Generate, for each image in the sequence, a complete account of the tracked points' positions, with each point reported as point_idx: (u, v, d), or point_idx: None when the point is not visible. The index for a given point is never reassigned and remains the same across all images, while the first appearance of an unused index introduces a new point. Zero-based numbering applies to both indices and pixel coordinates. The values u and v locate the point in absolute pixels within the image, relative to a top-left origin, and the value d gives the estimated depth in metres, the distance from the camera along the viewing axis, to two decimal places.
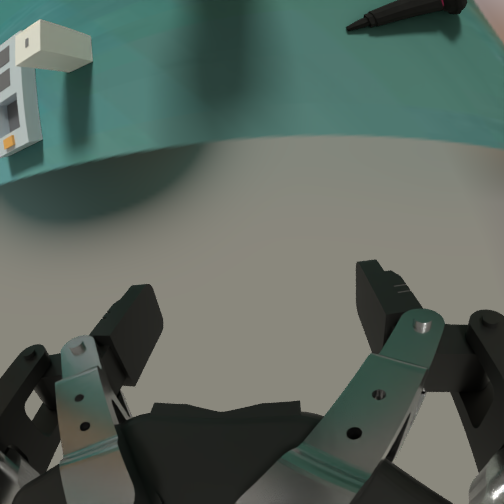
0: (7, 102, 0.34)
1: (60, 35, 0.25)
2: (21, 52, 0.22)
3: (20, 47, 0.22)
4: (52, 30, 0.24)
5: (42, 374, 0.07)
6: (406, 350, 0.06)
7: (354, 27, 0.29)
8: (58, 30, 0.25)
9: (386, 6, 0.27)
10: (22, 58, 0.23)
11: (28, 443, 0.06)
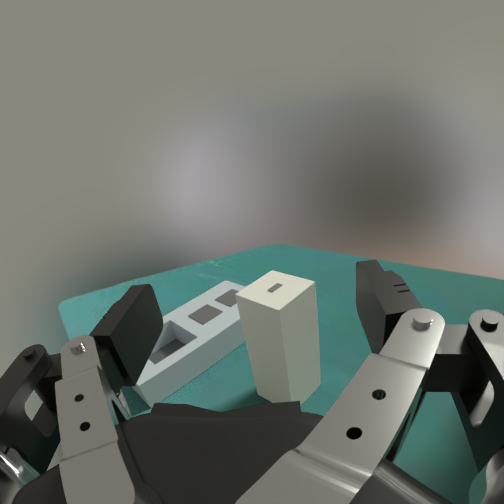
0: (180, 335, 0.38)
1: (306, 335, 0.25)
2: (257, 289, 0.25)
3: (262, 284, 0.25)
4: (308, 315, 0.24)
5: (42, 374, 0.07)
6: (406, 350, 0.06)
7: None
8: (311, 326, 0.25)
9: None
10: (250, 296, 0.24)
11: (28, 443, 0.06)
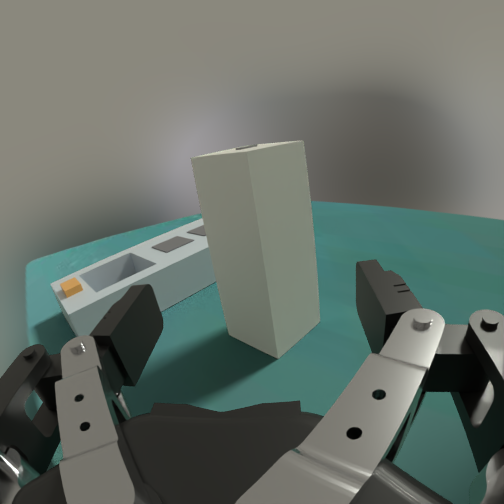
0: None
1: (295, 221, 0.17)
2: (222, 151, 0.17)
3: (231, 149, 0.18)
4: (296, 188, 0.17)
5: (42, 374, 0.07)
6: (406, 350, 0.06)
7: None
8: (302, 209, 0.17)
9: None
10: (210, 154, 0.16)
11: (28, 443, 0.06)
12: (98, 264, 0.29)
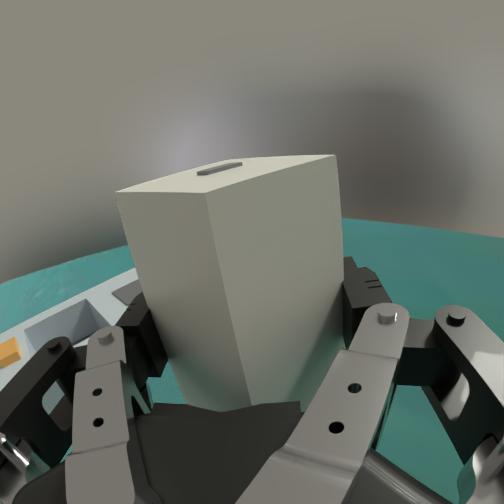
0: (99, 324, 0.21)
1: (315, 318, 0.09)
2: (173, 178, 0.08)
3: (192, 171, 0.09)
4: (321, 254, 0.08)
5: (67, 366, 0.08)
6: (366, 341, 0.07)
7: None
8: (328, 291, 0.09)
9: None
10: (144, 188, 0.08)
11: (42, 436, 0.06)
12: (47, 313, 0.20)
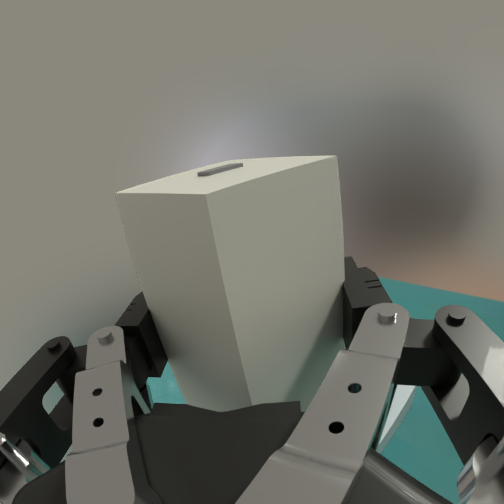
0: None
1: (316, 319, 0.09)
2: (173, 179, 0.08)
3: (193, 172, 0.09)
4: (322, 255, 0.08)
5: (67, 366, 0.08)
6: (366, 341, 0.07)
7: None
8: (329, 292, 0.09)
9: None
10: (144, 189, 0.08)
11: (42, 436, 0.06)
12: None
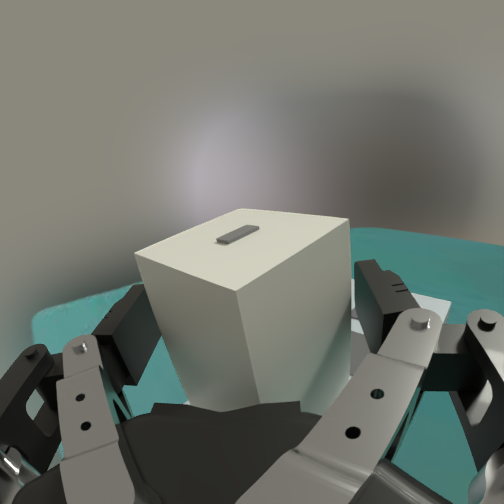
0: None
1: (325, 366, 0.09)
2: (192, 241, 0.09)
3: (209, 230, 0.10)
4: (332, 313, 0.09)
5: (44, 373, 0.07)
6: (403, 349, 0.06)
7: None
8: (337, 342, 0.09)
9: None
10: (166, 256, 0.08)
11: (29, 442, 0.06)
12: None
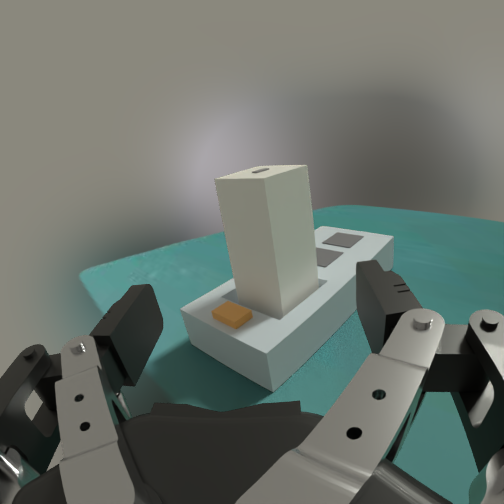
0: None
1: (300, 231, 0.21)
2: (240, 174, 0.21)
3: (247, 171, 0.22)
4: (301, 204, 0.21)
5: (42, 374, 0.07)
6: (406, 350, 0.06)
7: None
8: (305, 221, 0.21)
9: None
10: (231, 177, 0.20)
11: (28, 443, 0.06)
12: None
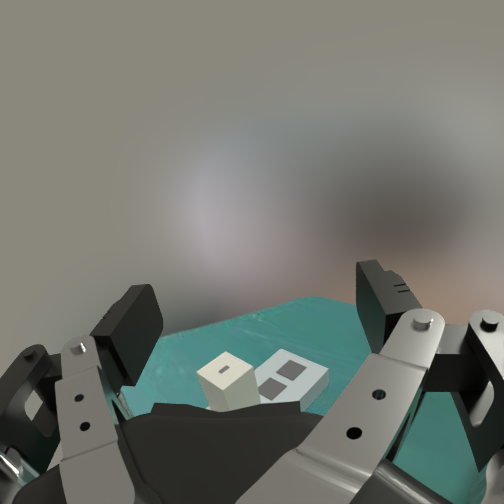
0: None
1: (248, 400, 0.33)
2: (212, 370, 0.33)
3: (216, 364, 0.33)
4: (249, 387, 0.32)
5: (42, 374, 0.07)
6: (406, 350, 0.06)
7: None
8: (252, 393, 0.33)
9: None
10: (206, 376, 0.32)
11: (28, 443, 0.06)
12: None
